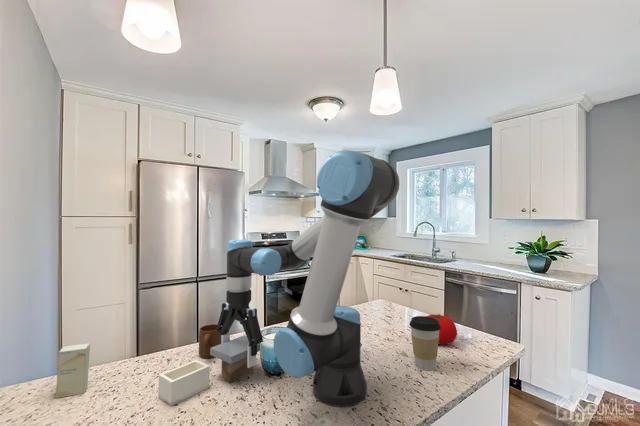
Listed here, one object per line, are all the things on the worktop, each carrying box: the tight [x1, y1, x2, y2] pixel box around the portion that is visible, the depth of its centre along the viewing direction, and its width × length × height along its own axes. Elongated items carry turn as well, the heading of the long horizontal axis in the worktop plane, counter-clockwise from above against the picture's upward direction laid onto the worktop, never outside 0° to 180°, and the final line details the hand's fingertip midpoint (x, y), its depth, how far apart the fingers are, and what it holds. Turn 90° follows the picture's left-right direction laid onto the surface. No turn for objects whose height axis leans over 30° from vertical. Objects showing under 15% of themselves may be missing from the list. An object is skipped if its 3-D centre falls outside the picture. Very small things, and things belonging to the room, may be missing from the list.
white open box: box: [157, 359, 211, 407], centre depth 83 cm, size 6×11×6 cm, turn 144°
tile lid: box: [210, 334, 261, 364], centre depth 93 cm, size 10×13×2 cm
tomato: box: [425, 313, 458, 346], centre depth 120 cm, size 14×13×10 cm
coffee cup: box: [409, 315, 441, 372], centre depth 99 cm, size 10×10×15 cm
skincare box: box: [55, 342, 91, 399], centre depth 83 cm, size 6×4×12 cm
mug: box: [198, 324, 221, 359], centre depth 105 cm, size 12×8×9 cm, turn 9°
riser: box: [220, 357, 255, 384], centre depth 93 cm, size 4×9×7 cm, turn 144°
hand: (238, 360), depth 93 cm, fingers open, 12 cm apart
